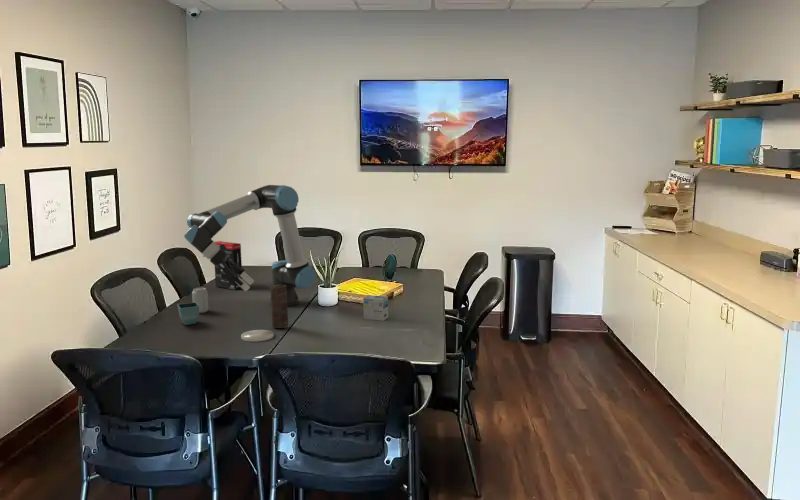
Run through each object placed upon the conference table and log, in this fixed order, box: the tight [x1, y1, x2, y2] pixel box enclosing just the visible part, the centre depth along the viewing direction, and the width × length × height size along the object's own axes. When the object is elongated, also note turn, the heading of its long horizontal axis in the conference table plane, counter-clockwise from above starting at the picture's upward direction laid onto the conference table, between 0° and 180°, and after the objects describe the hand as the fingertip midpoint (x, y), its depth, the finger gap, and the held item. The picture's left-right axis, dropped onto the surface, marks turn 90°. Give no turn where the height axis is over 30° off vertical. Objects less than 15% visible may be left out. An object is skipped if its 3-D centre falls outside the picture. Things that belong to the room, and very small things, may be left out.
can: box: [191, 287, 209, 314], centre depth 331 cm, size 8×8×12 cm
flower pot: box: [176, 301, 200, 326], centre depth 309 cm, size 9×9×9 cm
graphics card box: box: [214, 240, 243, 291], centre depth 383 cm, size 17×7×27 cm, turn 58°
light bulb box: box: [362, 294, 389, 322], centre depth 316 cm, size 11×7×11 cm, turn 71°
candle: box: [270, 285, 289, 329], centre depth 300 cm, size 8×7×20 cm
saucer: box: [240, 329, 275, 343], centre depth 288 cm, size 14×14×1 cm
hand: (250, 286), depth 296 cm, fingers open, 13 cm apart
